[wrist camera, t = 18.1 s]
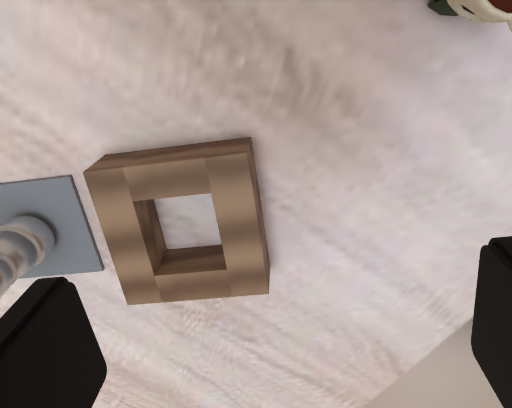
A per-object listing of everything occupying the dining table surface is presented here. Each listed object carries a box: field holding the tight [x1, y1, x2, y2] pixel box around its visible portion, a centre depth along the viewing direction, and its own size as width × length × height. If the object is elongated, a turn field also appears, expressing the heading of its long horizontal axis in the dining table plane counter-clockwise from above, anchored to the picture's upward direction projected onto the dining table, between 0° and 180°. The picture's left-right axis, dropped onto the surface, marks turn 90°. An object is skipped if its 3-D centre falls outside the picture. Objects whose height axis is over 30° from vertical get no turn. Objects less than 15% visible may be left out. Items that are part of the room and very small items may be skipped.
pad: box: [0, 175, 104, 279], centre depth 54 cm, size 14×14×1 cm
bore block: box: [83, 137, 270, 305], centre depth 49 cm, size 18×18×6 cm
